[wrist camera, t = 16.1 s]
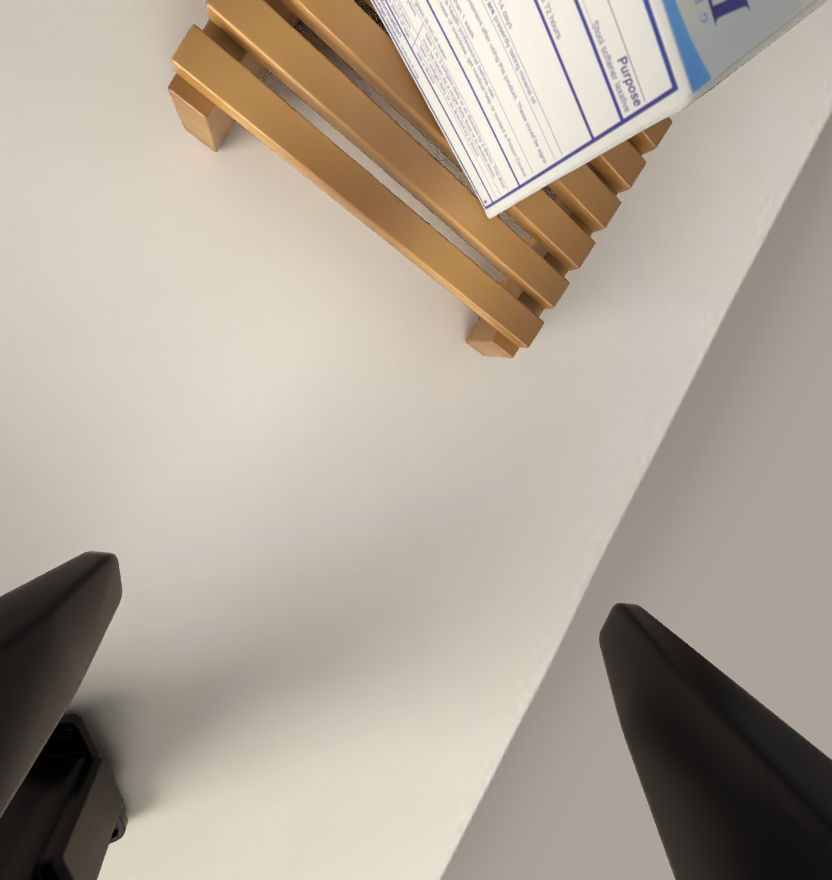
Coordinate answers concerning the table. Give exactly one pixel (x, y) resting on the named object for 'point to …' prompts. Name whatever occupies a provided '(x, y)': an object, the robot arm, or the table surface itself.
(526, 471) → the table surface
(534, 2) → the medicine box
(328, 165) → the dish rack
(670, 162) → the table surface
